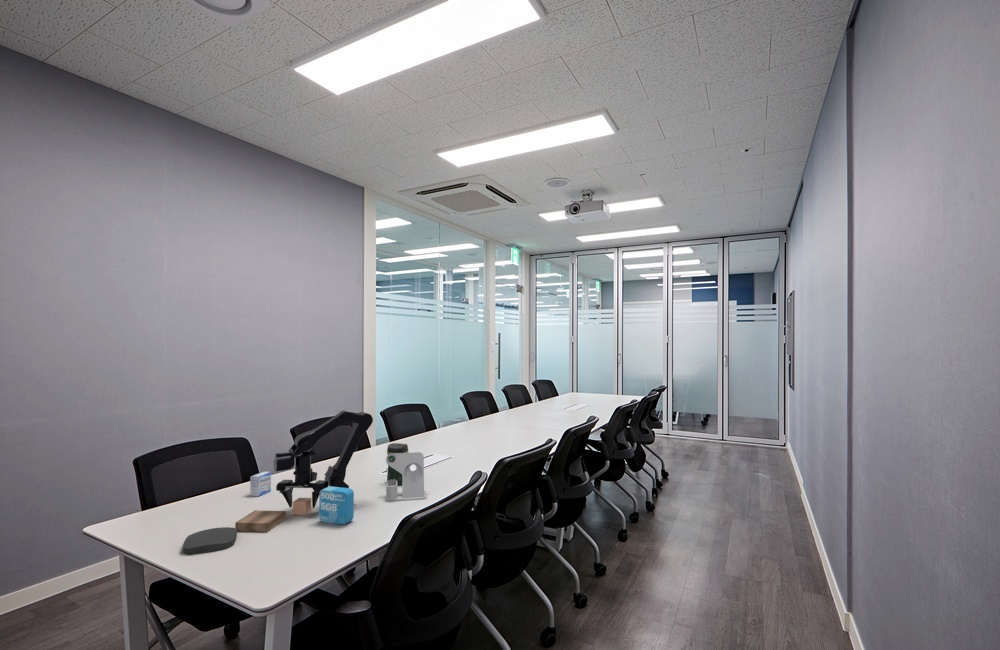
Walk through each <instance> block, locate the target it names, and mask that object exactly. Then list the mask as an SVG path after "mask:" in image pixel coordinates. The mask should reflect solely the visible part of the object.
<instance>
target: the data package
mask: <svg viewBox="0 0 1000 650" xmlns="http://www.w3.org/2000/svg"><path fill="white" fill-rule="evenodd" d="M354 498H355V491H354V490H353V488H350V487H349V488H341V487H331V486H329V487H327V488H325V489H323V490H321V491H320V494H319V497H318V499H319V501H318V503H319V505H318V513H319V514H318V519H319V521H320V522H321V523H326V524H334V525H343V526H345V525H346V524H348V523H350V522H351V521H353V520H354V511H355V510H354V507H355V505H354V504H355V503H354V502H355V501H354V500H355V499H354Z"/></svg>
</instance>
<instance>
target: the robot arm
mask: <svg viewBox="0 0 1000 650" xmlns="http://www.w3.org/2000/svg"><path fill="white" fill-rule="evenodd" d="M373 421H374V418H373V416H372V414H370V413H369V412H368V413H367V412H365V411H359V412H353V411H347V410H341V411H339V413H337V414H335V415H334V416H332V417H331V418H330V419H328V420H326V421H325V422H323V423H322V424H320V425H319V426H317V427H316V428H314V429H311V430H308V431H305V432H303V433H301V434H298V435H297V436H296V437H295V438H294V440H293V441H294V442H293V444H292V446H290V448H289V450H288V451H287V452H276V453H275V454H274V455H275V456H274V459H273V471H274V472H276V473H277V472H282V471H290V470H292V469H293V468H294V471H293V475H294V480H293V479H282V480H281V481H279V482H278V483H277V484H276V485H275V488H276V489H275V490H276V491H277V492H278V491H279V494H281V495H282V496H283V498H284V499H285V501H286V503H287V505H288V507H289V508H290V509H291V508H293V492H294V488H295V489H296V488H297V489H312V491H311V508H312V509H315V507H316V505H317V503H318V499H319V494H320V491H321V490H323V489H325V488H327V487H329V486H331V487H341V488H350V485H349V484H347V483H346V482H345V478H346V473H347V467H348V466H349V463H350V461H351V460H352V457H353V455H354V453H355V450H356V448H357V447H358V445H359V442H360V441H361V439H362V436H363V435H364V434H365V433H366V432H367V431H368V430H369V428H370V427H371V426H372V424H373ZM345 422H350V423H352V426H351V427H352V430H351V432H350V434H349V436H348V438H347V440H346V443H345V444H344V446H343V448H342V451H341V452H340V454H339V456H338V458H337V460H336V462H335V463H334V464H333V466H331V465H329V466H328V468H327V470H326V472H325V473H324V474H323V475H324V480H319V479H318V472H316V471H313V468H312V456H317V452H315V451H314V450H313V447H314V446H315V445H317V444H318V442H319V441H320V440H321V438H323V437H325V436H326V435H327V434H329V433H330V432H332V431H334V430H335V429H337V428H338V427H339V426H341V425H342V424H344V423H345ZM317 479H318V480H317Z"/></svg>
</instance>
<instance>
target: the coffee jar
mask: <svg viewBox="0 0 1000 650" xmlns="http://www.w3.org/2000/svg"><path fill="white" fill-rule="evenodd" d="M386 453H387V454H386V455H387V456H388V455H389V454H395V453H409V445H408V444H407V443H395V442H394V443H390V444H387V449H386ZM388 460H389V462H394V460H395V457H394V456H390V457H389V458H388ZM388 480H397V486H401V485H402V474H401V473H399V472H398V471H396V470H395V469H393V468H392V467H390V466H389V465H388V466H387V474H386V482H387V481H388Z"/></svg>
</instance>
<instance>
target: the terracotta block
mask: <svg viewBox="0 0 1000 650" xmlns="http://www.w3.org/2000/svg"><path fill="white" fill-rule="evenodd" d="M311 511H312V497H297V499H295V500H294V501H292V515H293V514H294V515H293V516H306V515H308V512H309V513H310V512H311ZM295 514H296V515H295Z"/></svg>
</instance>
